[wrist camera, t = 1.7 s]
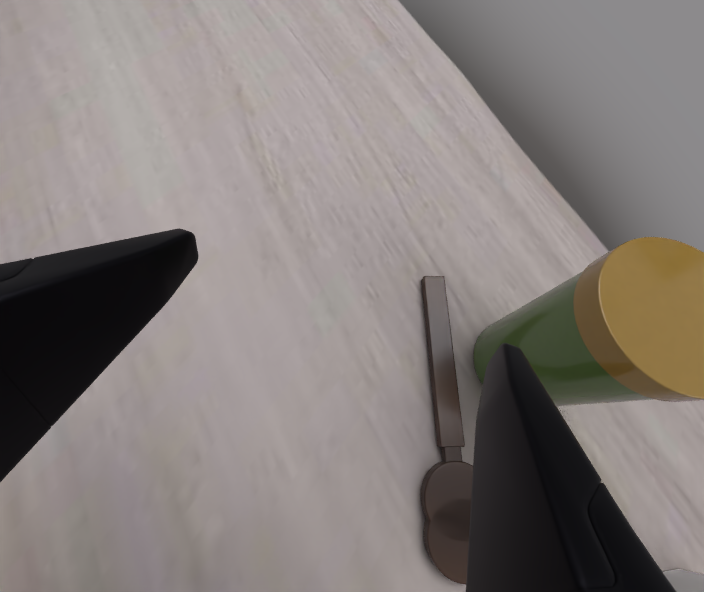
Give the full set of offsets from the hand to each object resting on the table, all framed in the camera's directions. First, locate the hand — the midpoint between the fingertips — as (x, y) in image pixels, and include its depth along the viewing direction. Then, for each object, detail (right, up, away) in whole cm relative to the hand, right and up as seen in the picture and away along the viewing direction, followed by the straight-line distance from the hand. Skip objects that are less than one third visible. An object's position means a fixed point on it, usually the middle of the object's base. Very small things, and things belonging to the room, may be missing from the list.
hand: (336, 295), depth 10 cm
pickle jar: (+12, -5, +16) cm, 21 cm away
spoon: (+7, -7, +15) cm, 18 cm away
